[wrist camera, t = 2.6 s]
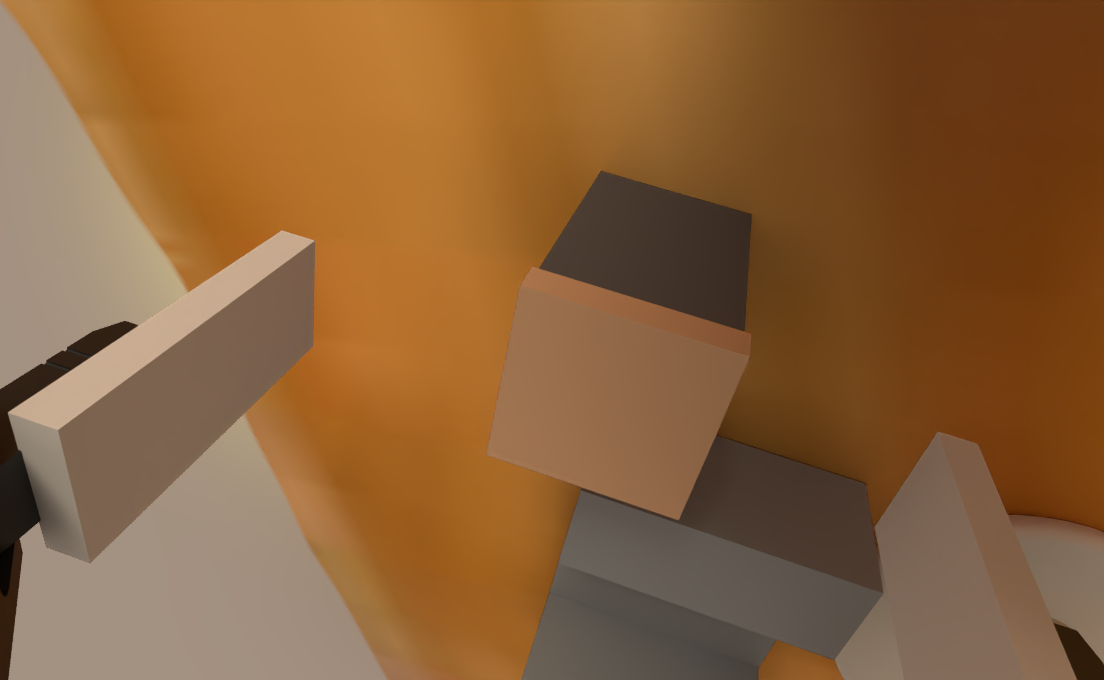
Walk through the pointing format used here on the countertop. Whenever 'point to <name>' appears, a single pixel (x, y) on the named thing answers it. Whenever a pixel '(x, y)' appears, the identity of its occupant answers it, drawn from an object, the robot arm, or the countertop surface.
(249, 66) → the countertop surface
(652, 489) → the tan and grey block
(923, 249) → the countertop surface
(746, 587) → the notch board
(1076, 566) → the bobbin
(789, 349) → the countertop surface
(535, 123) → the countertop surface
